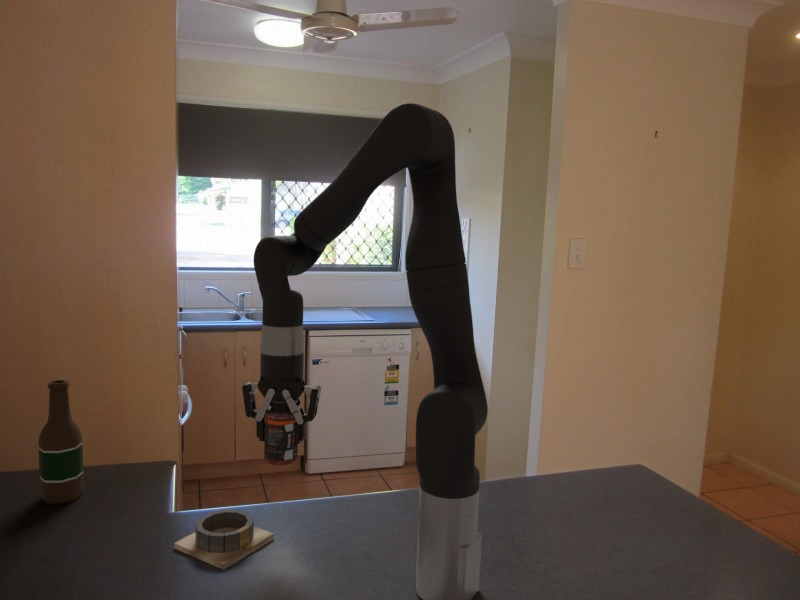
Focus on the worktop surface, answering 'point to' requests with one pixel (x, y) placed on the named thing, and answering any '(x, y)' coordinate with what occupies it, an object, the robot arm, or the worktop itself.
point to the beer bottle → (60, 450)
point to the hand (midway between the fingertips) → (280, 440)
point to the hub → (224, 538)
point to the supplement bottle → (280, 435)
